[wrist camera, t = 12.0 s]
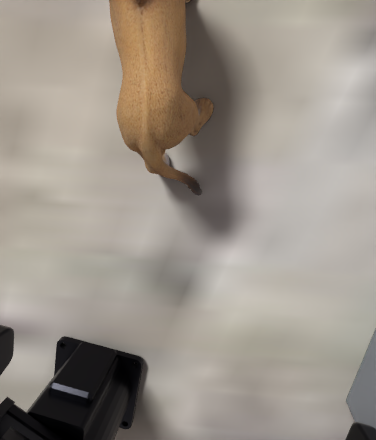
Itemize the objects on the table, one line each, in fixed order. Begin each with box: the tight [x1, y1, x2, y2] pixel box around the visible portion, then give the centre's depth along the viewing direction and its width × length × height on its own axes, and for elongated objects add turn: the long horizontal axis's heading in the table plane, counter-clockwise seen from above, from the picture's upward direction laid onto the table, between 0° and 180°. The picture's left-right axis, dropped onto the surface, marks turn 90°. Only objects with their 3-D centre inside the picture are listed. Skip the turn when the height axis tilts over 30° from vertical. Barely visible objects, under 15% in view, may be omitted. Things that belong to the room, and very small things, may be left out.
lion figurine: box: [109, 0, 213, 195], centre depth 13 cm, size 15×5×9 cm, turn 16°
